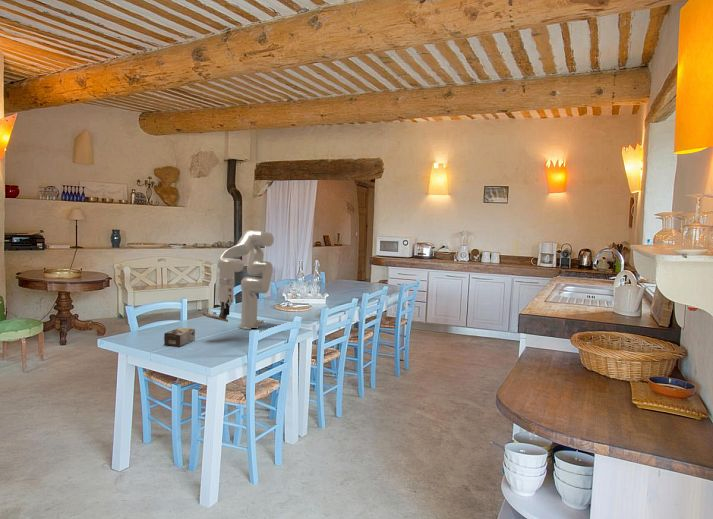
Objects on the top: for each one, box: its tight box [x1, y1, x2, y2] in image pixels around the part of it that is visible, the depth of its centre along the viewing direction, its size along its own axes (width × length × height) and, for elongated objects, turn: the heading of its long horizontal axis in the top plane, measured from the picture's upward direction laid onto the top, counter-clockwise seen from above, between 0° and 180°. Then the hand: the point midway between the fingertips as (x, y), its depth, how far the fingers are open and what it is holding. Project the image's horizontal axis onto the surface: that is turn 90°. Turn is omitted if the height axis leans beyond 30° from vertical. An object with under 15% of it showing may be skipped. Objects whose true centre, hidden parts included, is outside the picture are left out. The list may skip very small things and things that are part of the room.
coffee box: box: [163, 326, 196, 347], centre depth 266 cm, size 9×6×16 cm
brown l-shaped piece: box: [202, 302, 229, 323], centre depth 274 cm, size 12×7×11 cm, turn 131°
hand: (224, 314), depth 277 cm, fingers closed on brown l-shaped piece, 3 cm apart
